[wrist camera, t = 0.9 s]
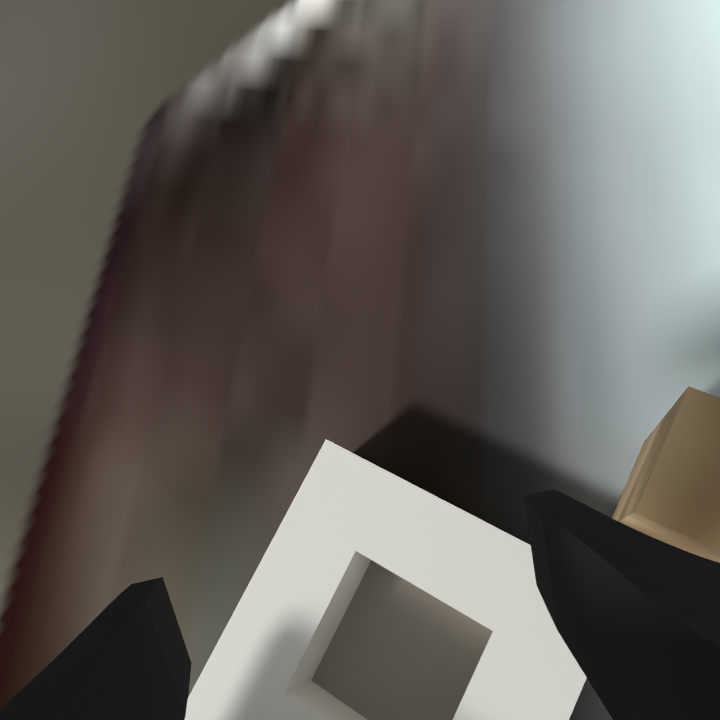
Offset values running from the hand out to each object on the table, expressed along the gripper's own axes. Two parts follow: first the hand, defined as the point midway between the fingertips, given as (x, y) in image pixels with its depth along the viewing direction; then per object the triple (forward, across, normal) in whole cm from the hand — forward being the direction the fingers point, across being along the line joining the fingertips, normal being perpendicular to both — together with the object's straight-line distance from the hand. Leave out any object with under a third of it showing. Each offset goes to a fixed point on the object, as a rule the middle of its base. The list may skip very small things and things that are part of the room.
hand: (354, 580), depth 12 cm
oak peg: (+10, -12, +7) cm, 18 cm away
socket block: (+10, -1, +11) cm, 15 cm away
